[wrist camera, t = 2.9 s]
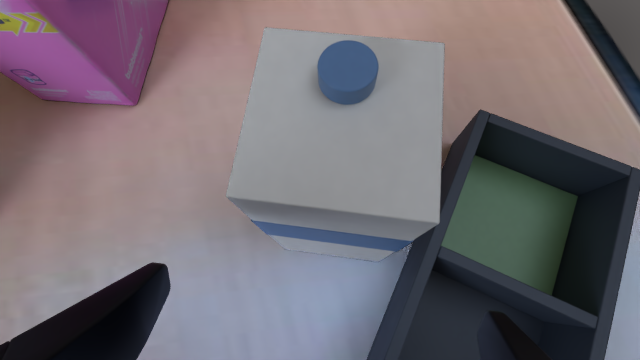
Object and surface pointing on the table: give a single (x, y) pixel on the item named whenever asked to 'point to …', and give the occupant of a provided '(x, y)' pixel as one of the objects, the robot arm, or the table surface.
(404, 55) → the carton
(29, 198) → the table surface
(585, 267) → the caddy
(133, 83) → the gum box
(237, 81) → the table surface
